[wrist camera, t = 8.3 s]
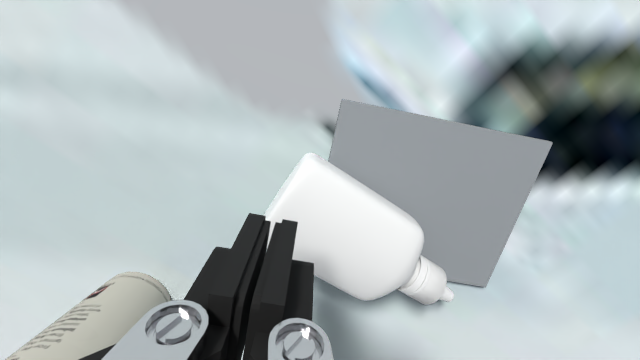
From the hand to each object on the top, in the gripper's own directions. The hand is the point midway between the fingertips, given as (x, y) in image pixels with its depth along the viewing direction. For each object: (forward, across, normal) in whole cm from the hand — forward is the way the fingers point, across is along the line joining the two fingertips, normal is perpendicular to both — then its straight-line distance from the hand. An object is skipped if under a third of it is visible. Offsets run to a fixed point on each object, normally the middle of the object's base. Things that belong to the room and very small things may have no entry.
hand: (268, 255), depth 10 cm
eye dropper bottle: (+6, +1, 0) cm, 6 cm away
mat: (+8, -8, 0) cm, 11 cm away
